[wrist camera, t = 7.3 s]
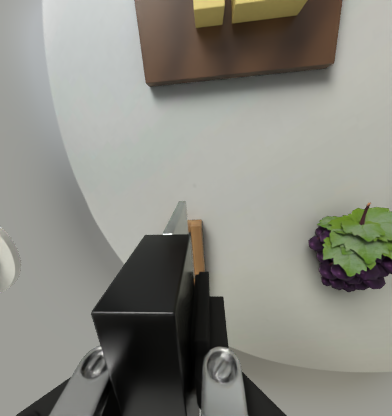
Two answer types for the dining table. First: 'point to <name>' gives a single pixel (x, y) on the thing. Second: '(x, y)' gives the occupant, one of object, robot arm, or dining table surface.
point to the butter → (264, 9)
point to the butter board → (233, 42)
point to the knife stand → (197, 245)
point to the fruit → (355, 249)
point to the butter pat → (208, 12)
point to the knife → (152, 325)
